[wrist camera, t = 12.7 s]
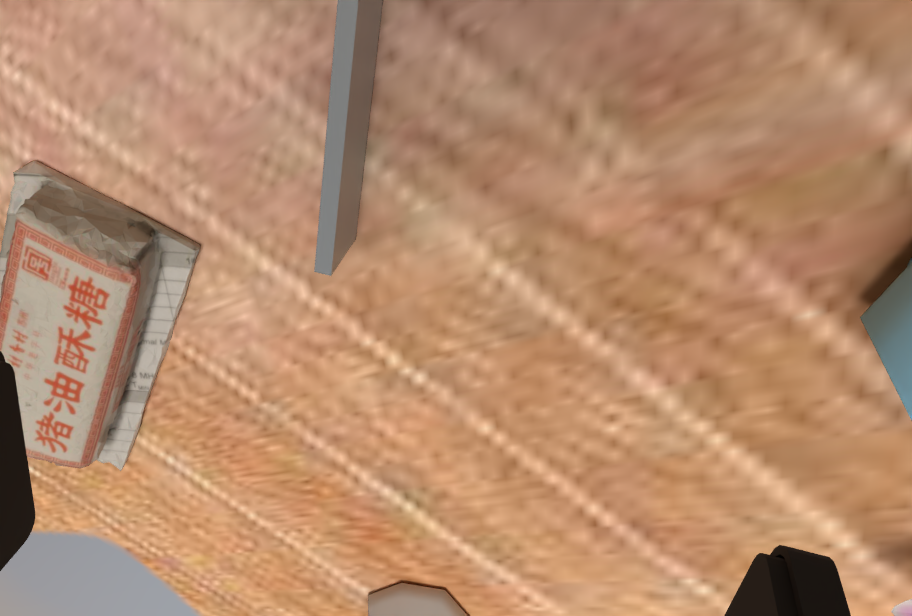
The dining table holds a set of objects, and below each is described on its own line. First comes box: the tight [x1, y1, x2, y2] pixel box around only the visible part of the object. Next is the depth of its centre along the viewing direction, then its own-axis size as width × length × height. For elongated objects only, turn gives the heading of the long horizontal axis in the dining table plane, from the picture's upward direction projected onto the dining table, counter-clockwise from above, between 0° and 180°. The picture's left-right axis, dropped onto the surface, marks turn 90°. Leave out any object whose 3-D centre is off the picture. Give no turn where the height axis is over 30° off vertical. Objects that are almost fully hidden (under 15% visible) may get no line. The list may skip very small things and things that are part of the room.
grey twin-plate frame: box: [314, 0, 383, 276], centre depth 35 cm, size 18×26×4 cm
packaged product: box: [0, 160, 200, 471], centre depth 45 cm, size 18×5×10 cm
